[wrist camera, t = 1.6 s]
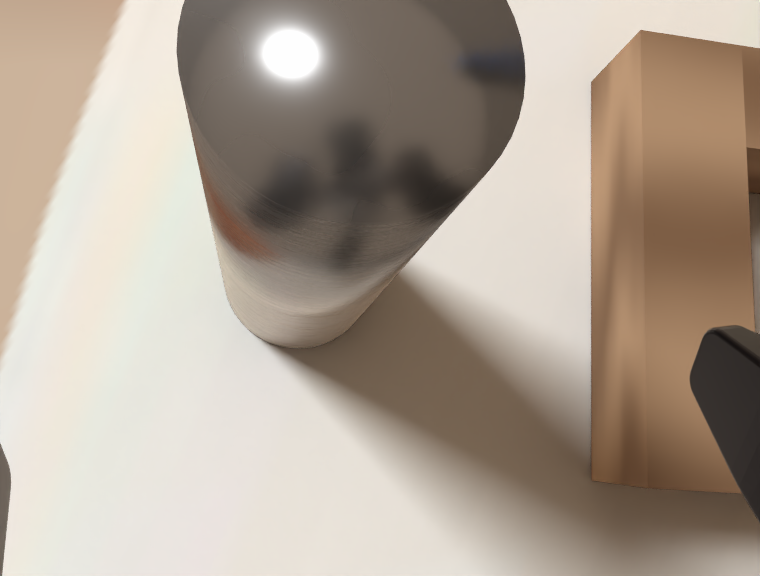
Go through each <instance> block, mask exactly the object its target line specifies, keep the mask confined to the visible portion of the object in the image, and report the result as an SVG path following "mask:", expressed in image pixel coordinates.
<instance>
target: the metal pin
mask: <svg viewBox="0 0 760 576" xmlns="http://www.w3.org/2000/svg"><path fill="white" fill-rule="evenodd" d="M177 59H178V70H179V76H180V81H181V85H182V90H183V95H184V99H185V104H186V109H187V113H188V118H189V123H190V127H191V132H192V137H193V141H194V146H195V151H196V155H197V160H198V165H199V170H200V174H201V179H202V184H203V188H204V193H205V198H206V202H207V207H208V212H209V216H210V221H211V226H212V230H213V235H214V240H215V244H216V249H217V254H218V258H219V263H220V268H221V272H222V277H223V282H224V286H225V291H226V295H227V298H228V301H229V303H230V306H231V308H232V310H233V311H234V313H235V315H236V316H237V318H238V319H239V320H240V322H241V323H242V324H243V325H244V326H245V327H246V328H247V329H248V330H249V331H251V332H252V333H253V334H254V335H256V336H257V337H259V338H261V339H263V340H264V341H267V342H269V343H271V344H274V345H278V346H281V347H287V348H311V347H315V346H319V345H322V344H325V343H328V342H330V341H332V340H334V339H335V338H337V337H339V336H340V335H342V334H343V333H344V332H346V331H347V330H348V329H349V328H350V327H351V326H352V325H353V324H354V323H355V322H356V321H357V319H358V318H359V317H360V316H361V315H362V314H363V313H364V311H365V310H366V309H367V308H368V307H369V306H370V305H371V304H372V302H373V301H374V300H375V299H376V298H377V297H378V296H379V294H380V293H381V292H382V291H383V290H384V289H385V288H386V287H387V285H388V284H389V283H390V282H391V281H392V280H393V279H394V278H395V276H396V275H397V274H398V273H399V272H400V271H401V270H402V268H403V267H404V266H405V265H406V264H407V263H408V262H409V261H410V259H411V258H412V257H413V256H414V255H415V254H416V253H417V251H418V250H419V249H420V248H421V247H422V246H423V245H424V244H425V242H426V241H427V240H428V239H429V238H430V237H431V236H432V235H433V233H434V232H435V231H436V230H437V229H438V228H439V227H440V225H441V224H442V223H443V222H444V221H445V220H446V219H447V218H448V216H449V215H450V214H451V213H452V212H453V211H454V210H455V209H456V207H457V206H458V205H459V204H460V203H461V202H462V201H463V199H464V198H465V197H466V196H467V195H468V194H469V193H470V192H471V190H472V189H473V188H474V187H475V186H476V185H477V184H478V182H479V181H480V180H481V179H482V178H483V177H484V176H485V175H486V173H487V172H488V171H489V170H490V169H491V167H492V166H493V165H494V163H495V162H496V161H497V160H498V158H499V157H500V156H501V154H502V153H503V151H504V149H505V147H506V146H507V144H508V142H509V140H510V139H511V137H512V134H513V132H514V129H515V126H516V124H517V121H518V119H519V115H520V111H521V107H522V102H523V98H524V87H525V61H524V53H523V47H522V42H521V37H520V34H519V30H518V27H517V24H516V21H515V18H514V16H513V13H512V11H511V9H510V7H509V5H508V3H507V1H506V0H185V2H184V4H183V7H182V11H181V16H180V21H179V26H178V37H177Z"/></svg>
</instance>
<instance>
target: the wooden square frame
mask: <svg viewBox="0 0 760 576" xmlns="http://www.w3.org/2000/svg"><path fill="white" fill-rule="evenodd" d="M749 192H750V193H758V194H760V48H753V47H747V46H740V45H734V44H727V43H721V42H714V41H708V40H702V39H695V38H689V37H682V36H676V35H669V34H663V33H657V32H650V31H644V30H640V31H639V32H638V33H637V34H636V36H635V37H634V38H633V39H632V40H631V41H630V42H629V43H628V44H627V45H626V46H625V47H624V48H623V49H622V50H621V51H620V52H619V53H618V54H617V55H616V57H615V58H614V59H613V60H612V61H611V62H610V63H609V64H608V65H607V66H606V67H605V68H604V69H603V70H602V71H601V72H600V73H599V74H598V75H597V76H596V78H595V79H594V80H593V81H592V82H591V480H592V481H599V482H606V483H613V484H621V485H628V486H635V487H642V488H652V489H670V490H689V491H707V492H725V493H741V491H740V489H739V487H738V485H737V484H736V482H735V480H734V478H733V476H732V474H731V472H730V470H729V468H728V466H727V464H726V462H725V460H724V457H723V455H722V453H721V451H720V449H719V447H718V445H717V443H716V441H715V439H714V437H713V435H712V432H711V430H710V428H709V426H708V424H707V422H706V420H705V418H704V416H703V414H702V412H701V410H700V407H699V405H698V403H697V401H696V399H695V397H694V395H693V393H692V390H691V387H690V380H689V378H690V371H691V368H692V365H693V363H694V360H695V357H696V354H697V351H698V349H699V346H700V343H701V340H702V337H703V335H704V334H705V333H706V332H707V330H708V329H711V328H713V327H721V326H729V325H739V326H742V327H745V328H747V329H749V330H751V331H753V332H755V320H754V298H753V277H752V256H751V235H750V213H749Z"/></svg>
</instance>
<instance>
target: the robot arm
mask: <svg viewBox="0 0 760 576" xmlns="http://www.w3.org/2000/svg"><path fill="white" fill-rule="evenodd" d="M689 380H690V387H691V390H692V393H693V395H694V397H695V399H696V401H697V403H698V405H699V407H700V410H701V412H702V414H703V416H704V418H705V420H706V422H707V424H708V426H709V428H710V430H711V432H712V435H713V437H714V439H715V441H716V443H717V445H718V447H719V449H720V451H721V453H722V455H723V457H724V460H725V462H726V464H727V466H728V468H729V470H730V472H731V474H732V476H733V478H734V480H735V482H736V484H737V485H738V487H739V489H740V491H741V493H742V494H743V496H744V498H745V500H746V501H747V503H748V505H749V506H750V508H751V510H752V511H753V513H754V514H755V516H756V518H757V519H758V521H759V523H760V334H758V333H756V332H753V331H751V330H749V329H747V328H745V327H742V326H739V325H729V326H721V327H713V328H711V329H708V330H707V332H706V333H705V334H704V335H703V337H702V340H701V343H700V346H699V349H698V351H697V354H696V357H695V360H694V363H693V365H692V368H691V371H690V378H689ZM10 490H11V474H10V468H9V465H8V462H7V459H6V457H5V454H4V452H3V449H2V446H1V444H0V576H2V570H3V560H4V550H5V540H6V530H7V520H8V510H9V500H10Z"/></svg>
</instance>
